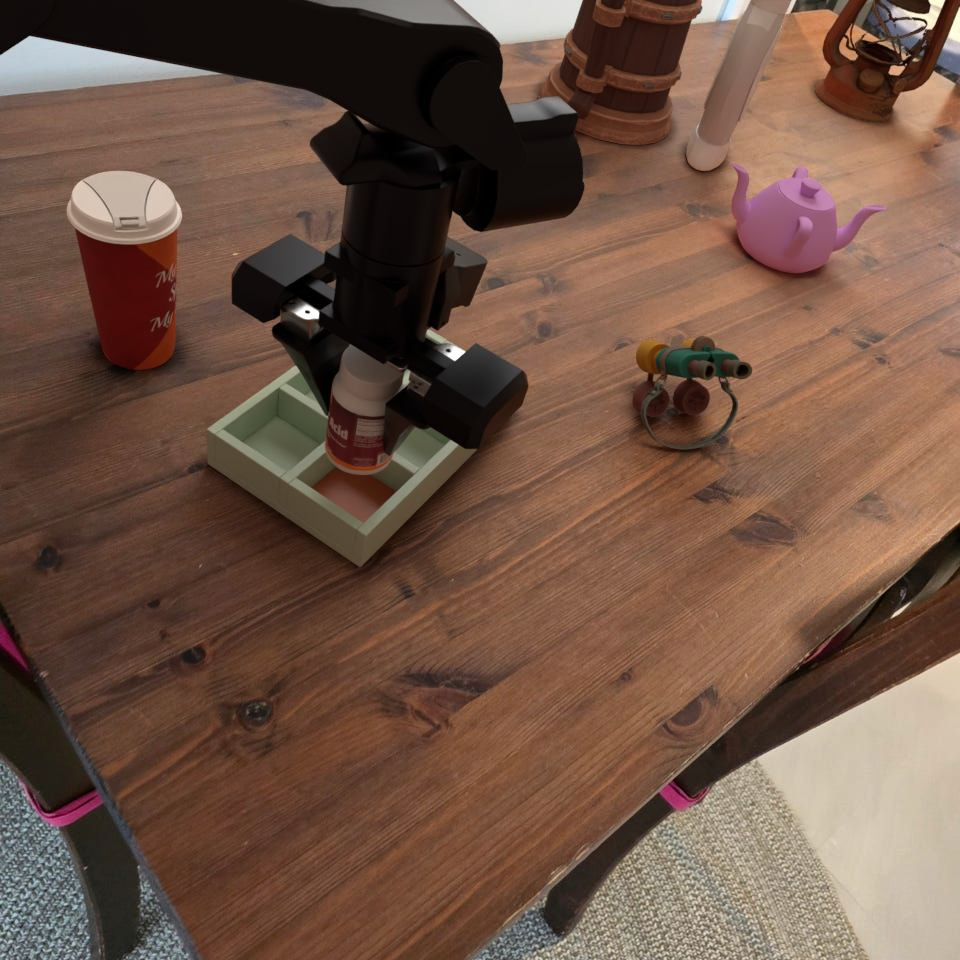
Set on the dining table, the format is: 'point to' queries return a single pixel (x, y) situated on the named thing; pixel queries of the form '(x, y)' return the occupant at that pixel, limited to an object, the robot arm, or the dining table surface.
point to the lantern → (880, 60)
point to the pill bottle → (360, 413)
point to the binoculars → (689, 395)
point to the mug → (623, 67)
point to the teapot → (792, 222)
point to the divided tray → (326, 467)
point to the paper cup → (129, 263)
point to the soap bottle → (736, 81)
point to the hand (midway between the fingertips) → (362, 432)
